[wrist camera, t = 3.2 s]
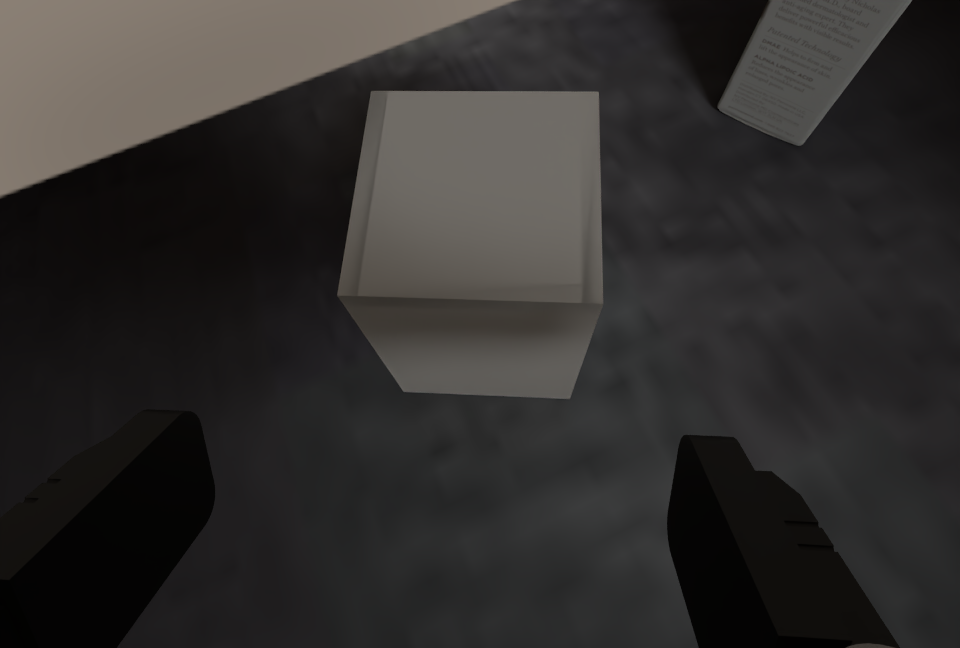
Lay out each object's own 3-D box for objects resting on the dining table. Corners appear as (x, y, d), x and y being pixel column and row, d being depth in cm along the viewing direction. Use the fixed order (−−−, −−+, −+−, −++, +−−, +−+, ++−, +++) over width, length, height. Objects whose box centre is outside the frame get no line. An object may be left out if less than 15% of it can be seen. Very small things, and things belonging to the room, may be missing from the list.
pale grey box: (569, 250, 24) (598, 91, 16) (569, 399, 22) (603, 303, 13) (420, 247, 25) (371, 91, 16) (403, 391, 22) (337, 295, 14)
